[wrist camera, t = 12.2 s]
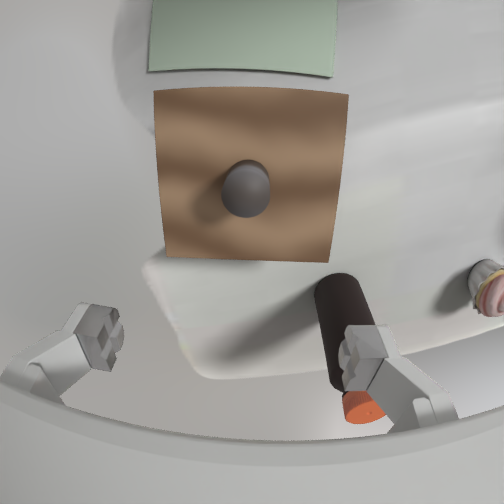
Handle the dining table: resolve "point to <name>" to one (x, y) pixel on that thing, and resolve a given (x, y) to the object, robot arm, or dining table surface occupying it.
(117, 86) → the dining table surface
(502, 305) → the cupcake
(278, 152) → the lid
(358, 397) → the bottle
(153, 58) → the mat
